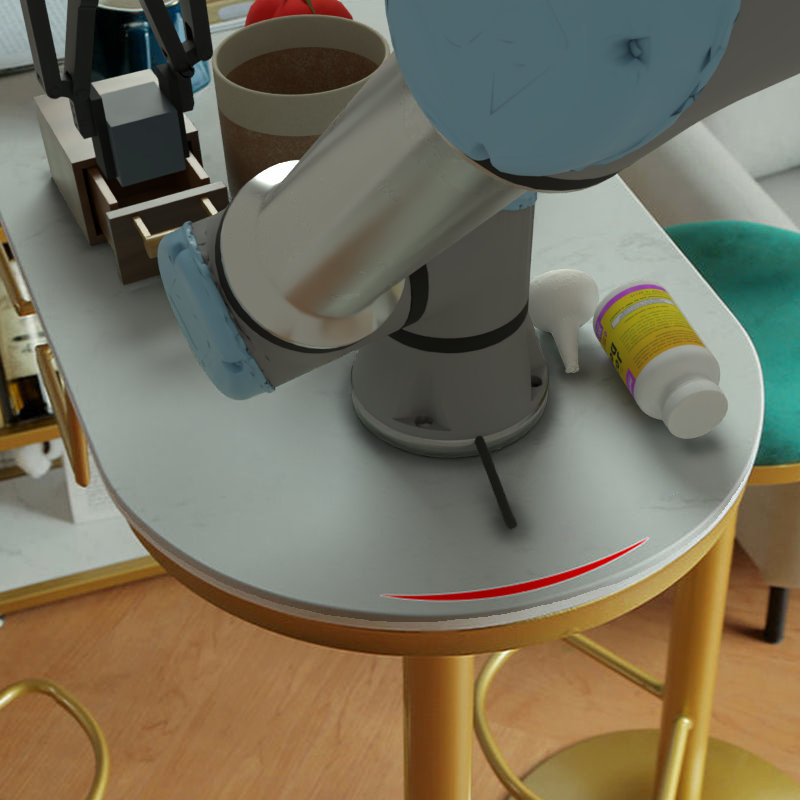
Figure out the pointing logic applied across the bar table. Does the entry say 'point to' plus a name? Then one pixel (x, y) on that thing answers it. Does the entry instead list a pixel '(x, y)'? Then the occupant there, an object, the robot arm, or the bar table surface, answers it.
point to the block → (143, 133)
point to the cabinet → (85, 147)
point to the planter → (287, 86)
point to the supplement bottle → (661, 358)
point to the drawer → (150, 213)
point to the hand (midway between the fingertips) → (143, 159)
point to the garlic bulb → (563, 308)
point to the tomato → (294, 9)
